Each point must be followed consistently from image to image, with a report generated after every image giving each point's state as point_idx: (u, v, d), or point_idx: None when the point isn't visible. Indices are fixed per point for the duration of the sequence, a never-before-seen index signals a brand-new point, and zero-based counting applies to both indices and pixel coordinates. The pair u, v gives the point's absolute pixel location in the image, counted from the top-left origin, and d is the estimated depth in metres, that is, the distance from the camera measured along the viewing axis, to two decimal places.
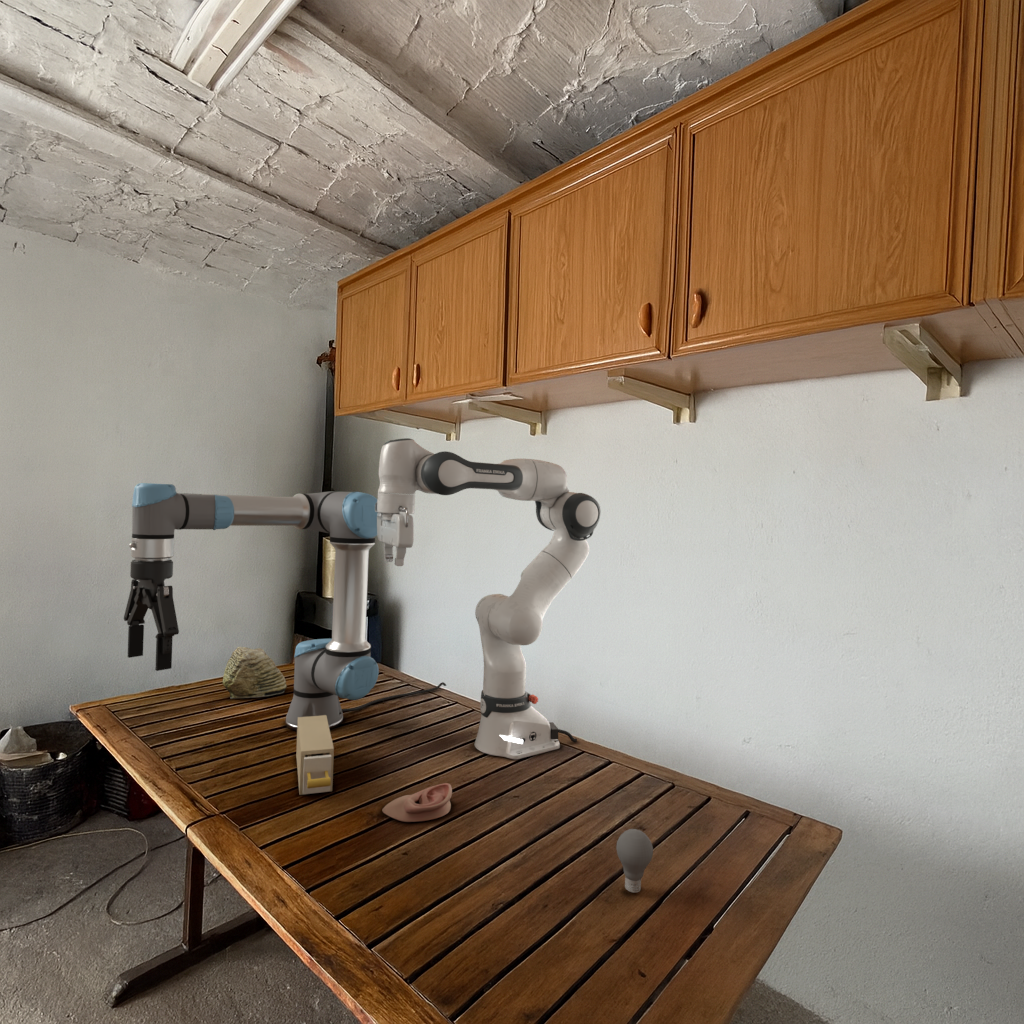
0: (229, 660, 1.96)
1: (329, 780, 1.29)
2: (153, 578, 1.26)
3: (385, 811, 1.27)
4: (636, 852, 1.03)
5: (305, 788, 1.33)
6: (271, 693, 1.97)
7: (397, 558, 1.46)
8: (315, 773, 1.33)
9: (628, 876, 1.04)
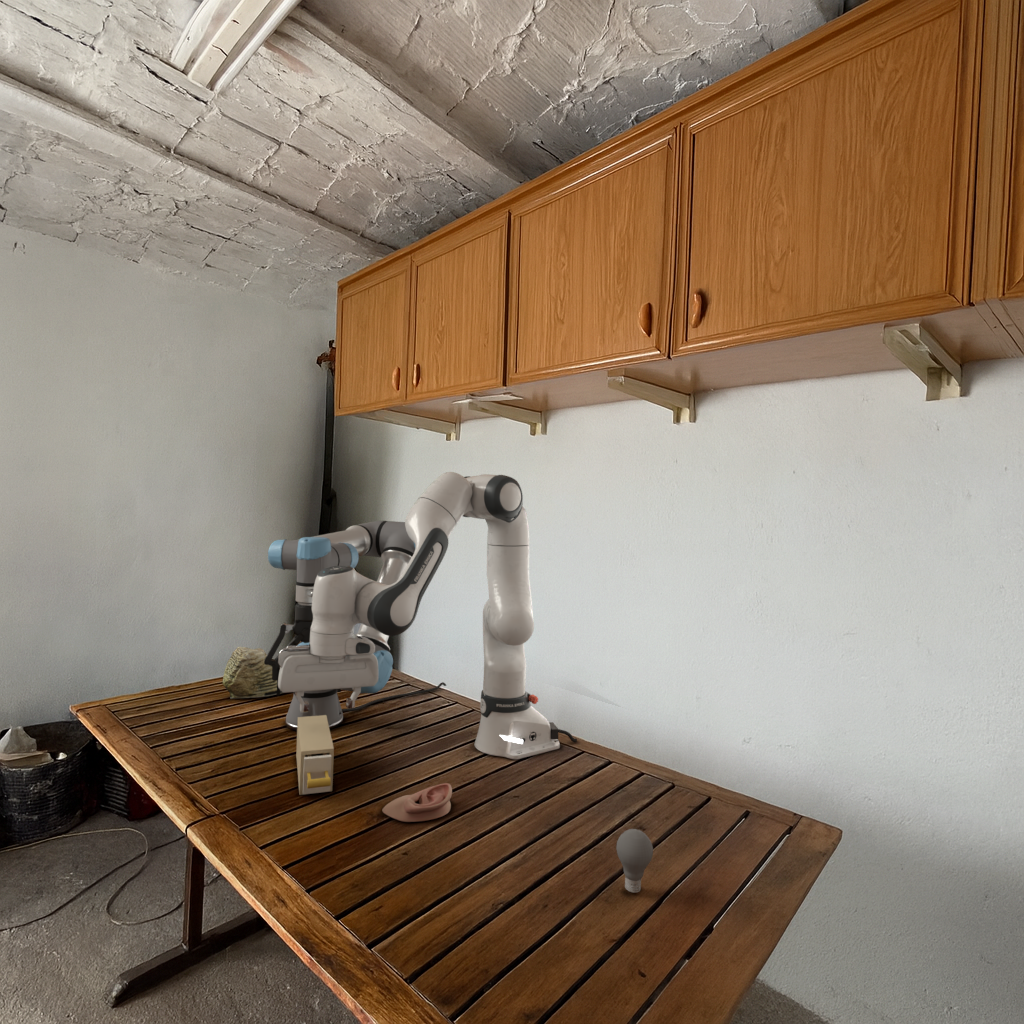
0: (229, 660, 1.96)
1: (329, 780, 1.29)
2: None
3: (385, 811, 1.27)
4: (636, 852, 1.03)
5: (305, 788, 1.33)
6: (271, 693, 1.97)
7: None
8: (315, 773, 1.33)
9: (628, 876, 1.04)
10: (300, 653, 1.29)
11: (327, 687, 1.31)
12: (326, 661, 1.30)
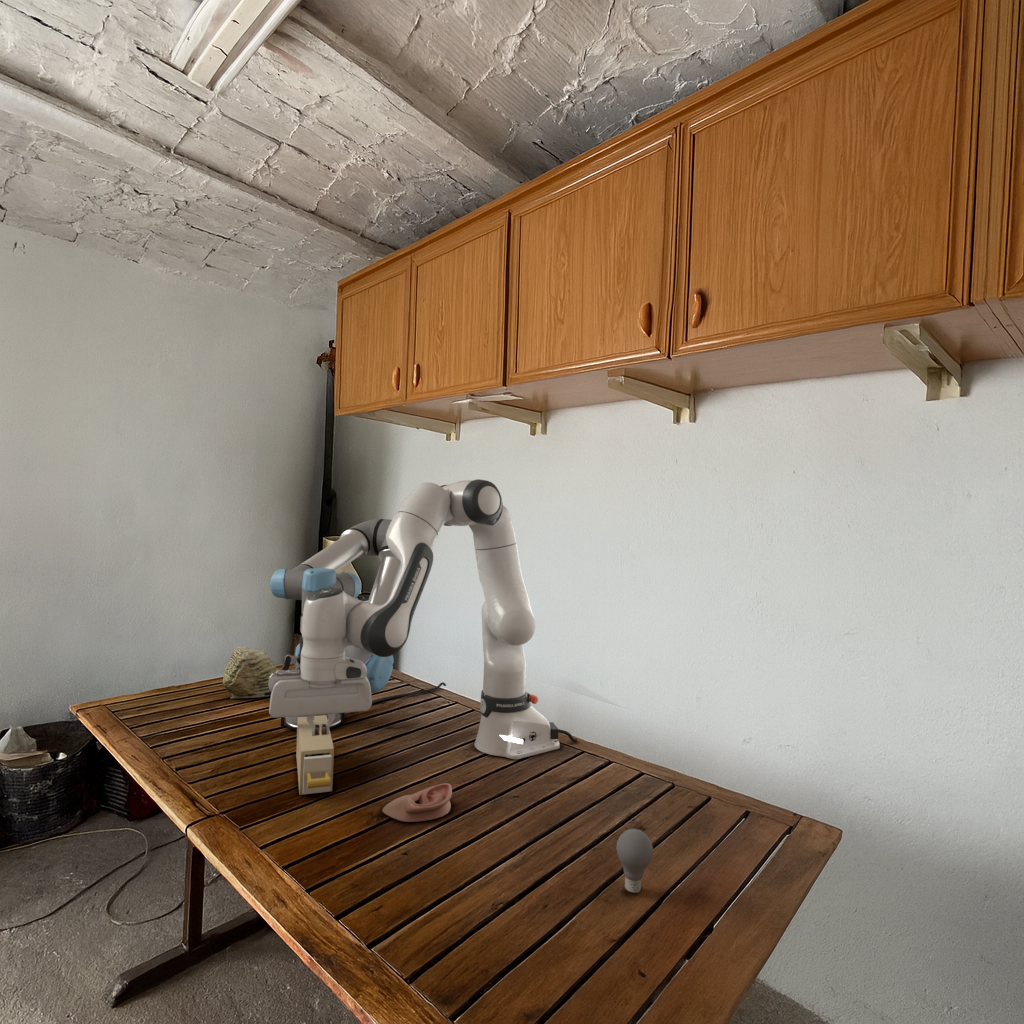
0: (229, 660, 1.96)
1: (329, 780, 1.29)
2: None
3: (385, 811, 1.27)
4: (636, 852, 1.03)
5: (305, 788, 1.33)
6: None
7: None
8: (315, 773, 1.33)
9: (628, 876, 1.04)
10: (290, 678, 1.28)
11: (318, 712, 1.29)
12: (316, 686, 1.27)
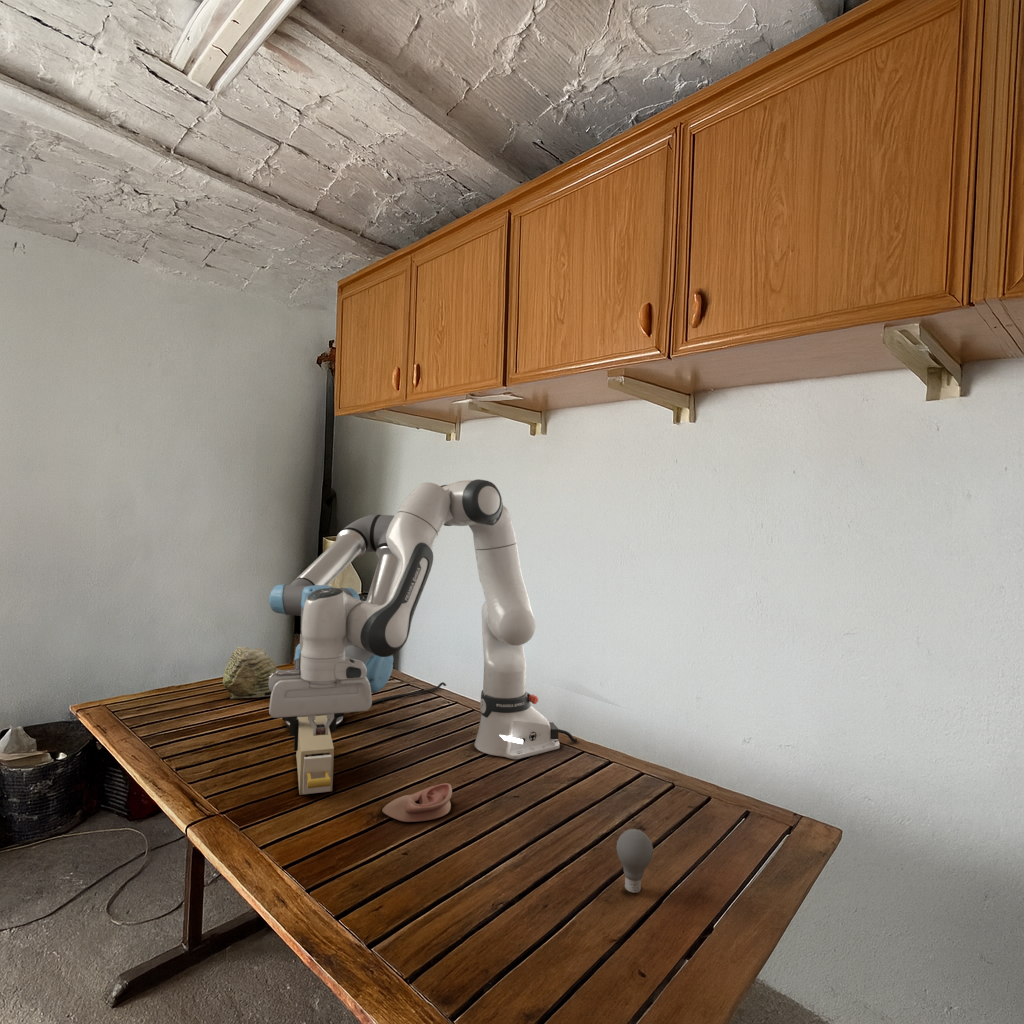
0: (229, 660, 1.96)
1: (329, 780, 1.29)
2: None
3: (385, 811, 1.27)
4: (636, 852, 1.03)
5: (305, 788, 1.33)
6: None
7: None
8: (315, 773, 1.33)
9: (628, 876, 1.04)
10: (290, 678, 1.28)
11: (318, 712, 1.29)
12: (316, 686, 1.27)
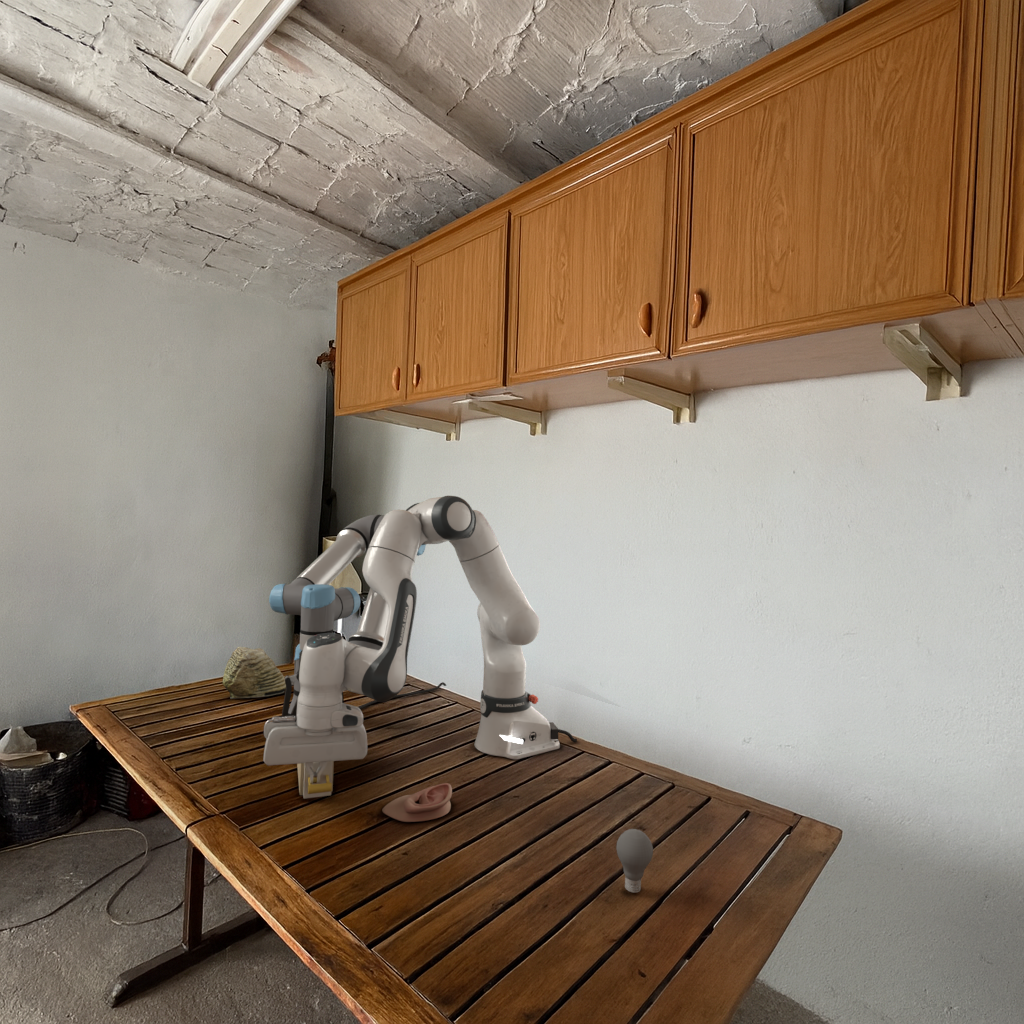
0: (229, 660, 1.96)
1: (330, 786, 1.27)
2: None
3: (385, 811, 1.27)
4: (636, 852, 1.03)
5: (306, 793, 1.31)
6: (271, 693, 1.97)
7: None
8: None
9: (628, 876, 1.04)
10: (286, 724, 1.27)
11: (313, 760, 1.27)
12: (311, 734, 1.26)
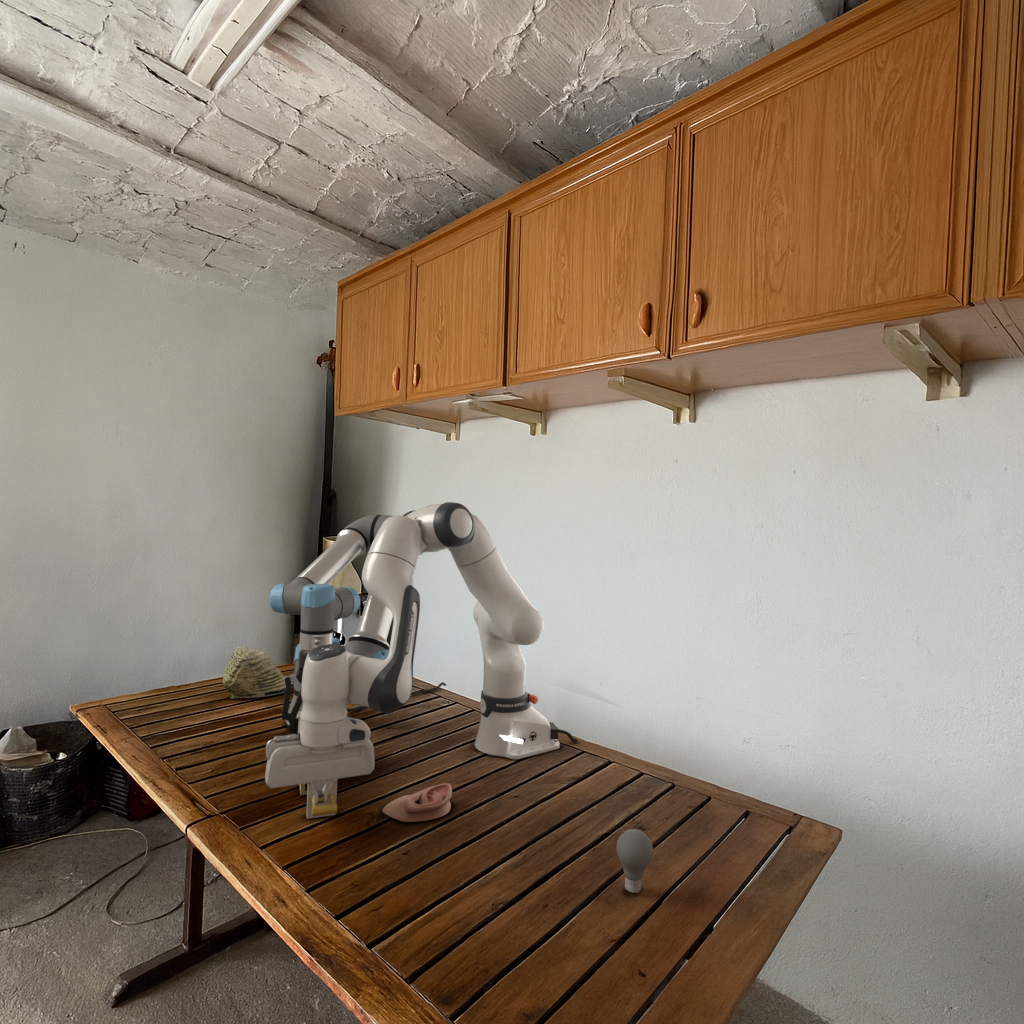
0: (229, 660, 1.96)
1: (335, 807, 1.21)
2: None
3: (385, 811, 1.27)
4: (636, 852, 1.03)
5: (309, 812, 1.25)
6: (271, 693, 1.97)
7: None
8: None
9: (628, 876, 1.04)
10: (289, 744, 1.19)
11: (319, 779, 1.21)
12: (317, 752, 1.19)
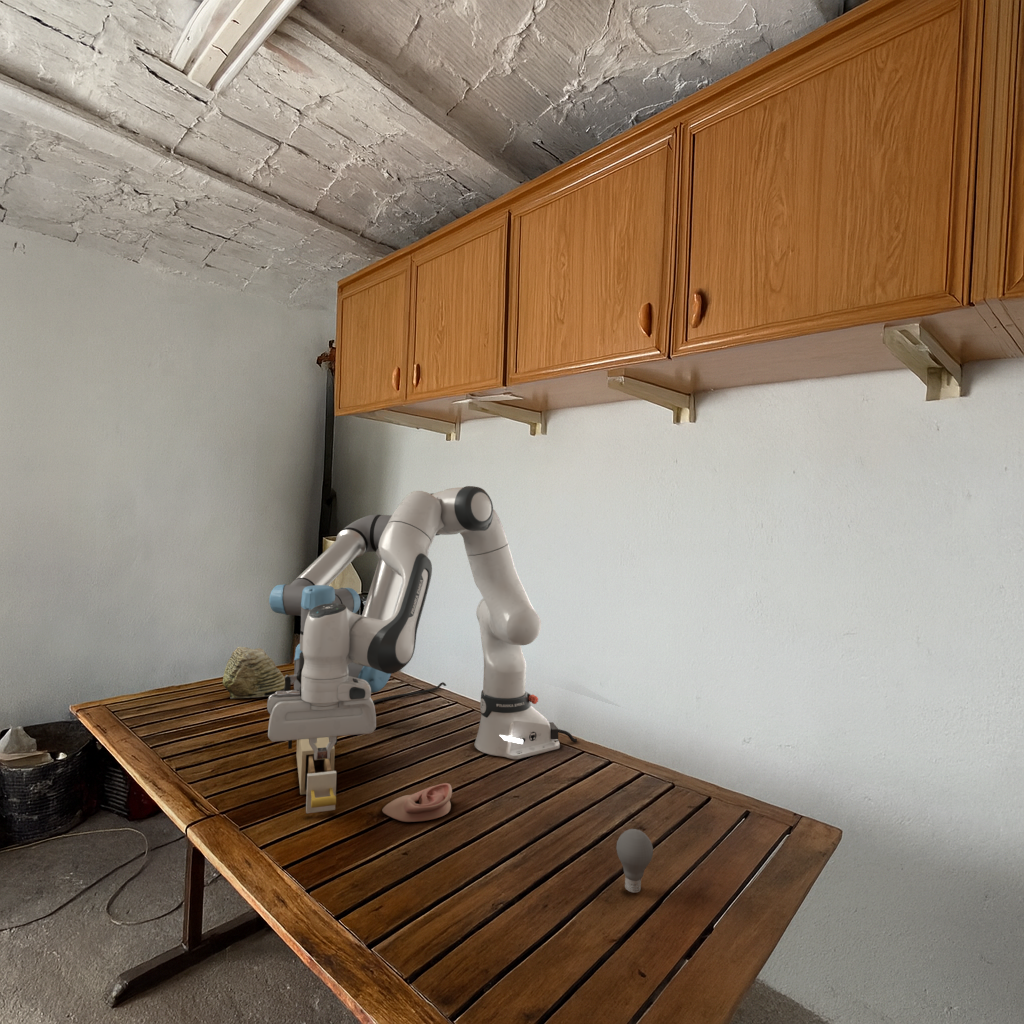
0: (229, 660, 1.96)
1: (334, 799, 1.21)
2: None
3: (385, 811, 1.27)
4: (636, 852, 1.03)
5: (308, 807, 1.25)
6: (271, 693, 1.97)
7: None
8: (319, 791, 1.25)
9: (628, 876, 1.04)
10: (290, 699, 1.21)
11: (320, 735, 1.22)
12: (317, 708, 1.20)
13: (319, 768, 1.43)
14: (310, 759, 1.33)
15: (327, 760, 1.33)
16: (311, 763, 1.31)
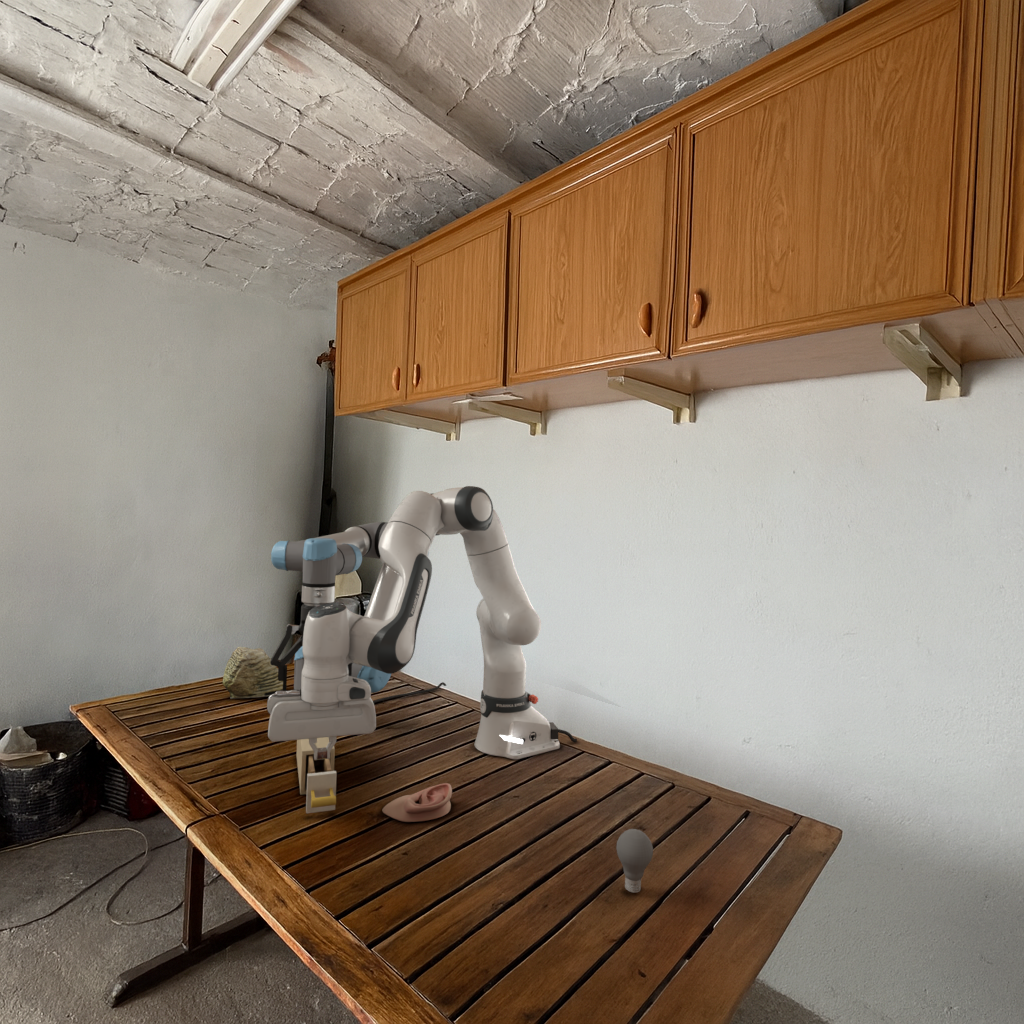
0: (229, 660, 1.96)
1: (334, 799, 1.21)
2: None
3: (385, 811, 1.27)
4: (636, 852, 1.03)
5: (308, 807, 1.25)
6: (271, 693, 1.97)
7: None
8: (319, 791, 1.25)
9: (628, 876, 1.04)
10: (290, 699, 1.21)
11: (320, 735, 1.22)
12: (317, 708, 1.20)
13: (319, 768, 1.43)
14: (310, 759, 1.33)
15: (327, 760, 1.33)
16: (311, 763, 1.31)
